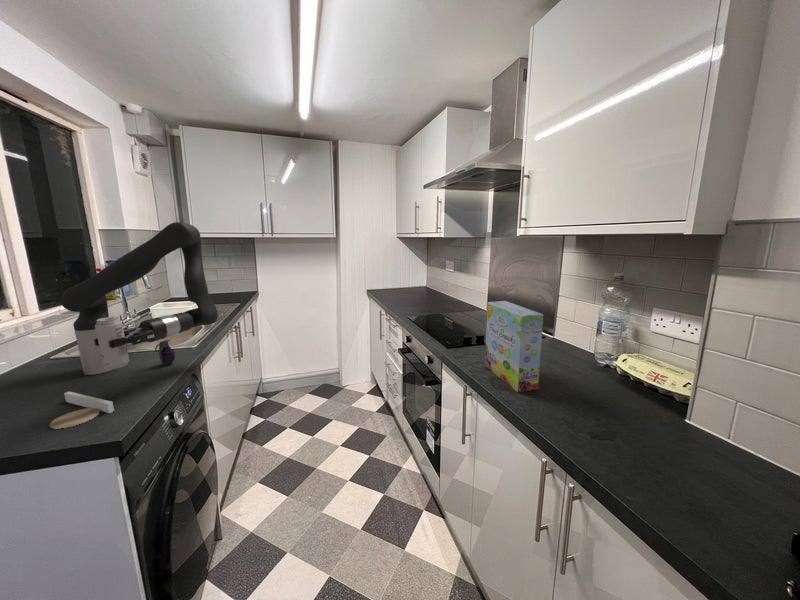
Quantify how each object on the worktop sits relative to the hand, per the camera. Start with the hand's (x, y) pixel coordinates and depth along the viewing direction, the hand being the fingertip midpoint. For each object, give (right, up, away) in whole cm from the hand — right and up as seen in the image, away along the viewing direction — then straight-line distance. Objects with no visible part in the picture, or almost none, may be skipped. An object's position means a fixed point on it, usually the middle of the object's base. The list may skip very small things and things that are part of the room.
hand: (102, 343), depth 94 cm
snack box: (+126, -15, +19) cm, 128 cm away
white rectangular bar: (-7, -20, +3) cm, 21 cm away
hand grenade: (-6, -13, +34) cm, 37 cm away
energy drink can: (+1, -8, +4) cm, 9 cm away
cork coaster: (-4, -21, -4) cm, 22 cm away
